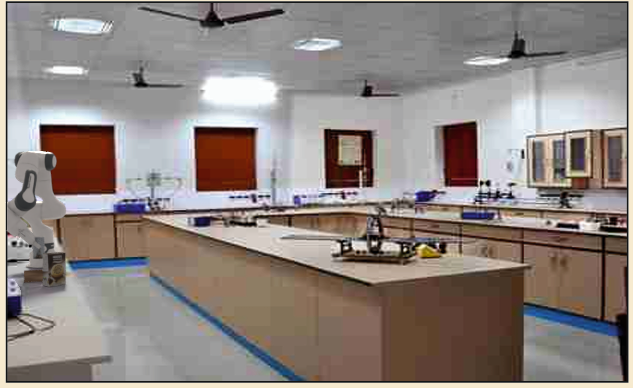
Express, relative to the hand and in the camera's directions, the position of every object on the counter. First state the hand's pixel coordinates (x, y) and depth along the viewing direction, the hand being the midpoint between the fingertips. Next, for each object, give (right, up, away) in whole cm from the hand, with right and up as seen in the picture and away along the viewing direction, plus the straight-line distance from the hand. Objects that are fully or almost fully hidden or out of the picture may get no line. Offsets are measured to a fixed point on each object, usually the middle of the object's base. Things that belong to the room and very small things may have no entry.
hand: (40, 247), depth 315 cm
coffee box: (+14, -18, -14) cm, 27 cm away
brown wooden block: (0, -17, 0) cm, 17 cm away
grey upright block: (-1, -6, 0) cm, 6 cm away
